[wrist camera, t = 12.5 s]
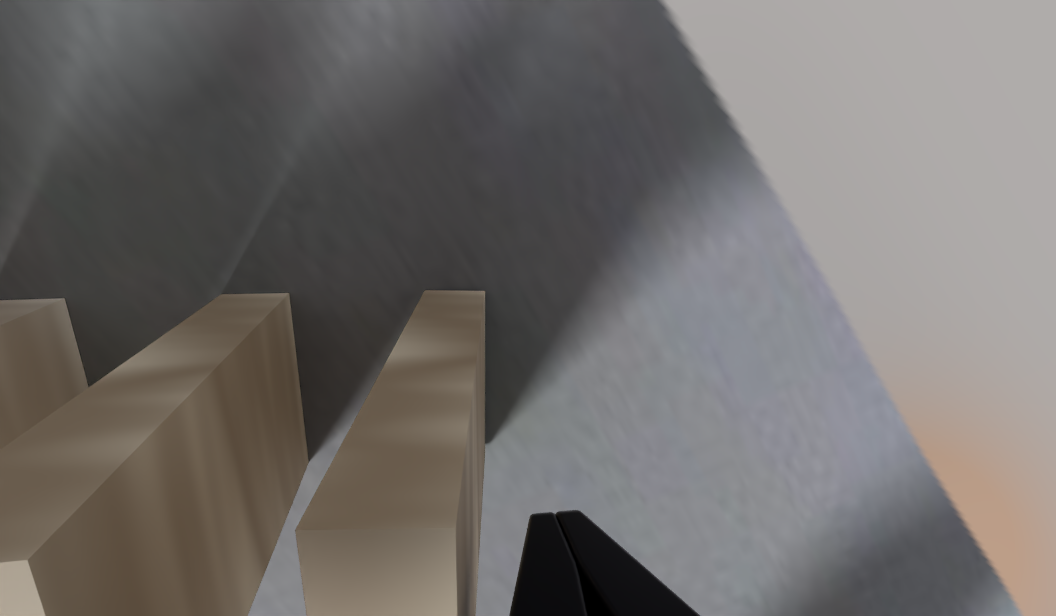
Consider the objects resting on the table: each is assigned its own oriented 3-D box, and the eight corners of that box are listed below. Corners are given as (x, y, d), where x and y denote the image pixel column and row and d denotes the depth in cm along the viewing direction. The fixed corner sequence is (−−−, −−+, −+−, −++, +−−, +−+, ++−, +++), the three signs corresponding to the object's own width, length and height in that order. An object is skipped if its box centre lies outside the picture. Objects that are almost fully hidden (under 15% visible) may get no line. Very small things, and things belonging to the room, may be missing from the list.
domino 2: (484, 290, 14) (455, 527, 5) (484, 453, 15) (462, 843, 7) (424, 289, 14) (295, 530, 5) (430, 453, 15) (337, 848, 7)
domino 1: (289, 293, 13) (27, 560, 5) (308, 462, 15) (136, 894, 6) (221, 294, 13) (-186, 579, 4) (248, 466, 14) (-18, 924, 6)
